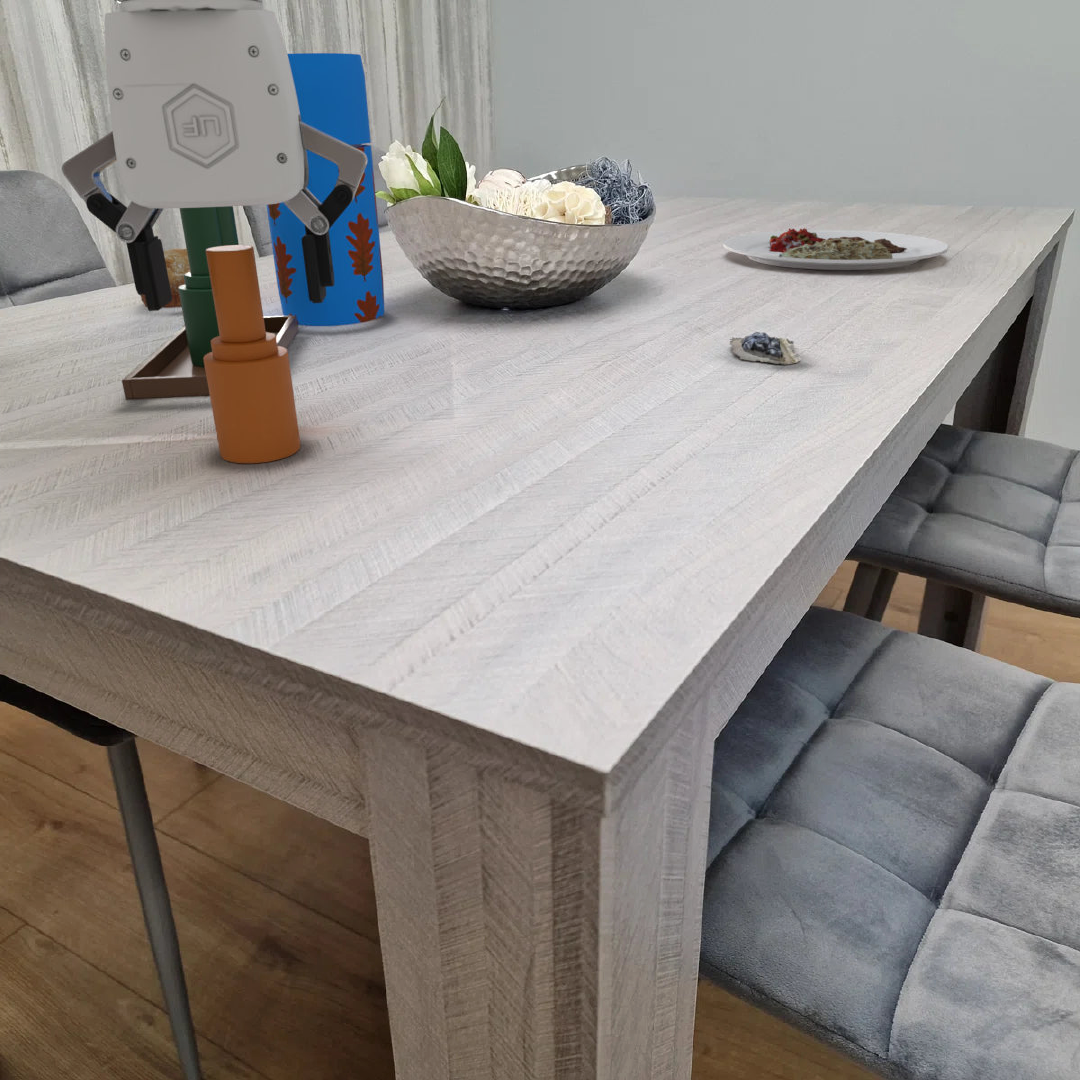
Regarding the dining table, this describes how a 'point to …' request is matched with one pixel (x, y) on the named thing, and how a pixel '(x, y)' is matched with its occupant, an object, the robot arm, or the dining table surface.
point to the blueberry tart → (765, 349)
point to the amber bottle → (247, 366)
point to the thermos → (342, 112)
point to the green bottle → (199, 281)
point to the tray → (187, 365)
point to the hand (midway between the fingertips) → (240, 302)
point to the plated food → (835, 249)
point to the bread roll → (175, 274)
